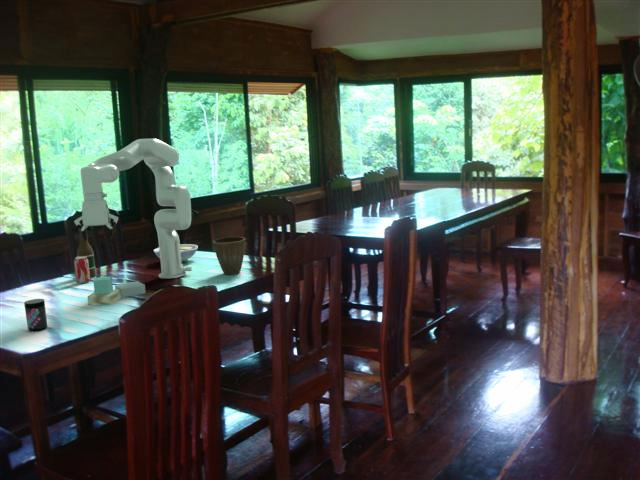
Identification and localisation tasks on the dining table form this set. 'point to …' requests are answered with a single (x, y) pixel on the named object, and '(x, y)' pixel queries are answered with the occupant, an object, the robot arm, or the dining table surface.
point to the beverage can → (82, 269)
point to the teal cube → (103, 285)
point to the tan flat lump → (104, 298)
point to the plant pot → (230, 254)
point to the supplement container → (36, 315)
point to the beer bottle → (86, 253)
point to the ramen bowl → (182, 251)
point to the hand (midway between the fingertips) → (98, 239)
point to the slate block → (131, 288)
